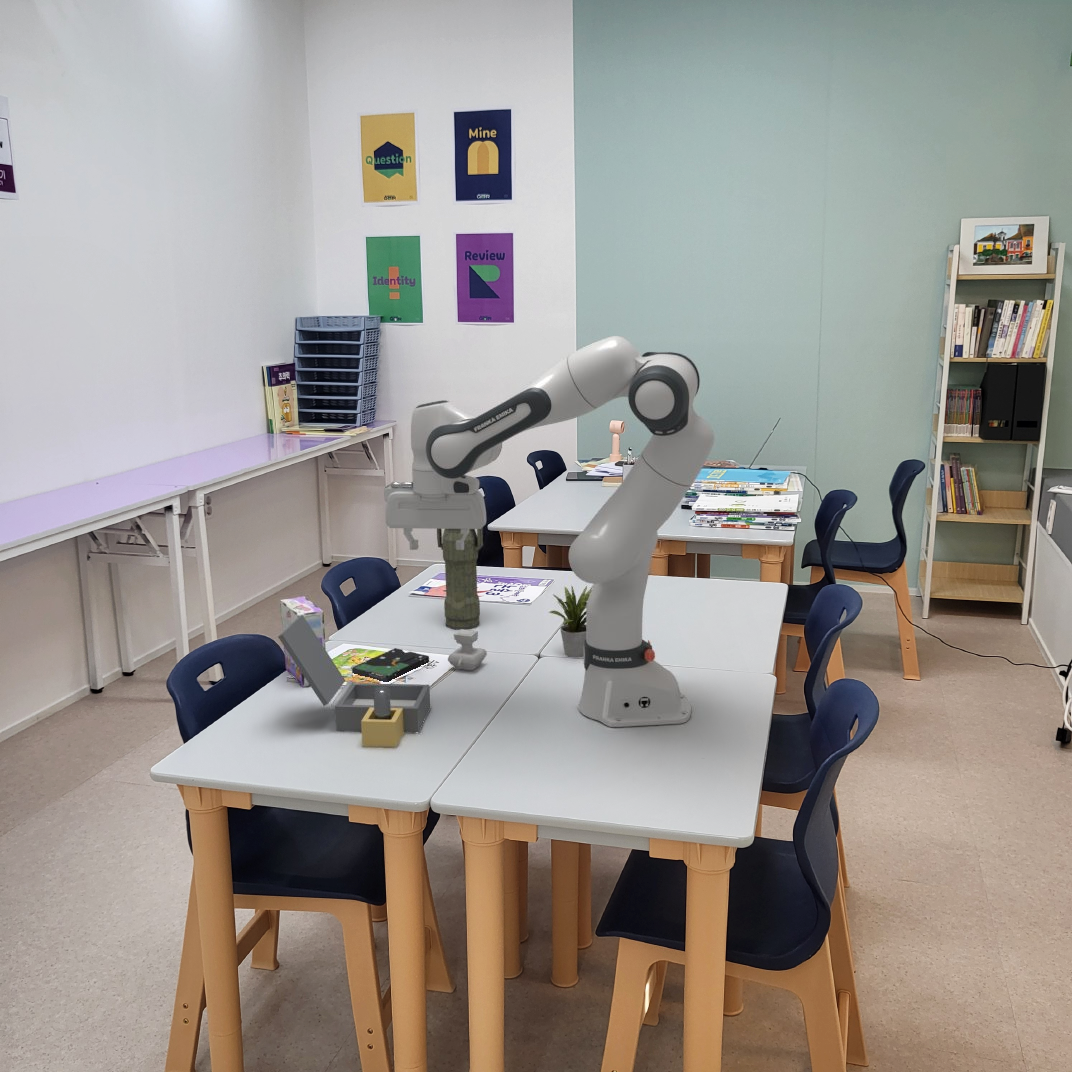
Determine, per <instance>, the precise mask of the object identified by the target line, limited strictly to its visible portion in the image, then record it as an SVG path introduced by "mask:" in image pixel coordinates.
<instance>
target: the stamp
mask: <svg viewBox="0 0 1072 1072" xmlns="http://www.w3.org/2000/svg"><path fill="white" fill-rule="evenodd" d="M453 637H454V638H453V639H454V641H455V642H456V644H459V645H461V646H459V648H457V649H456V650H454V651H453V652H451V653H450V654H449V655H448V657H447V661H448V663H450V665H451V666H452V667H455V668H454V669H457V670H458V669H459V670H465V671H471V672H472V671H473V670H475V669H477V667H479V666H480V665H481V664H482V663H483V661H484V660H485V659H486V657H487V655H488V653H487V650H486V649H484V648H480V647H474V646H473V644H474V643H475V642H476V641H478V639H479V638H478V637H479V631H478V630H473V629H467V630H464V629H460V630H456V632H455V633H454V634H453Z"/></svg>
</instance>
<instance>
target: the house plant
mask: <svg viewBox="0 0 1072 1072" xmlns="http://www.w3.org/2000/svg"><path fill="white" fill-rule="evenodd" d="M587 589H588V585H587V586H585V587H584V589H583V591H582V593H581V594H580V596H579V598H578V600H577V597H576V593H575V590H574V587H573V585H571V592H570V591H569V589H568V588H567V587H566V586H564V596H565V601H563V599H561V598H559V597H558V596H557V595H555V594H553V597H555V598H556V600H557V602H558V605H559V606H560V607H561V608H562V609H563V612H564V614H565V615H564V614H563V613H561V612H559V611H558V610H551V611H548V613H549V614H552V615H553V614H554V615H557V616H559V617H561V618H562V619H563V622H562V624H563V625H561V626H560V628H559V629H560V634H561V639H562V640H561V641H562V646H563V651H564V655H565V656H567V657H569V658H582V657H583V655H584V654H583V651H584V642H585V640H586V610H585V609H586V605H587V600H588V598H589V596H590V593H591V591H592V588H591V589H589V590H588V591H587ZM565 616H566V617H565Z"/></svg>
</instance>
